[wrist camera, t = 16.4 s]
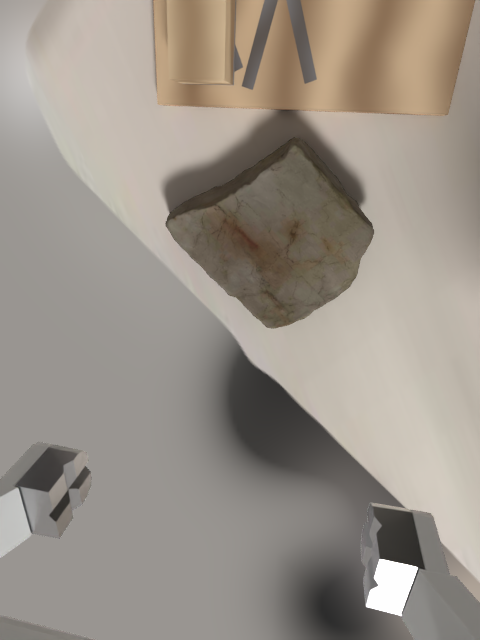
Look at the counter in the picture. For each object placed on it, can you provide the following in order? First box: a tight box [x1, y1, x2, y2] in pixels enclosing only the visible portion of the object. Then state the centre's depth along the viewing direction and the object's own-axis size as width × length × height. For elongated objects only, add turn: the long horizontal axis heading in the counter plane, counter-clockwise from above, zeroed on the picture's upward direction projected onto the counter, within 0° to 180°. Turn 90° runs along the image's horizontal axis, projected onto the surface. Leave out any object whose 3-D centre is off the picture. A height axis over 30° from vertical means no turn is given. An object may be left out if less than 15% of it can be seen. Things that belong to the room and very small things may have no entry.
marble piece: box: [166, 138, 374, 328], centre depth 38 cm, size 17×15×4 cm
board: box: [153, 0, 475, 116], centre depth 32 cm, size 24×10×2 cm, turn 88°
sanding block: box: [167, 0, 236, 85], centre depth 30 cm, size 4×7×4 cm, turn 178°
